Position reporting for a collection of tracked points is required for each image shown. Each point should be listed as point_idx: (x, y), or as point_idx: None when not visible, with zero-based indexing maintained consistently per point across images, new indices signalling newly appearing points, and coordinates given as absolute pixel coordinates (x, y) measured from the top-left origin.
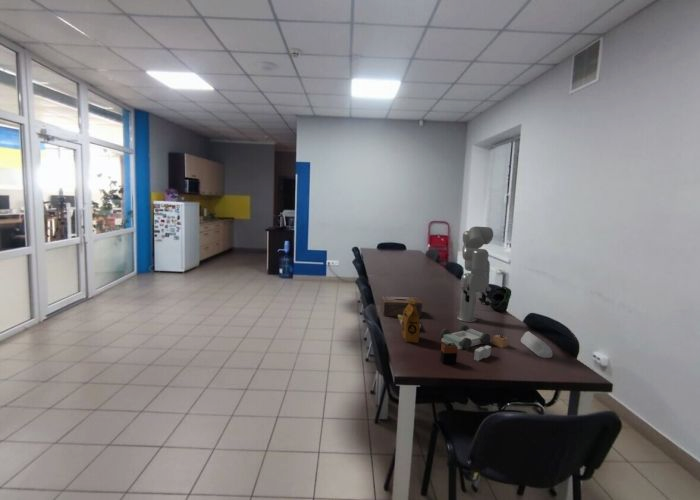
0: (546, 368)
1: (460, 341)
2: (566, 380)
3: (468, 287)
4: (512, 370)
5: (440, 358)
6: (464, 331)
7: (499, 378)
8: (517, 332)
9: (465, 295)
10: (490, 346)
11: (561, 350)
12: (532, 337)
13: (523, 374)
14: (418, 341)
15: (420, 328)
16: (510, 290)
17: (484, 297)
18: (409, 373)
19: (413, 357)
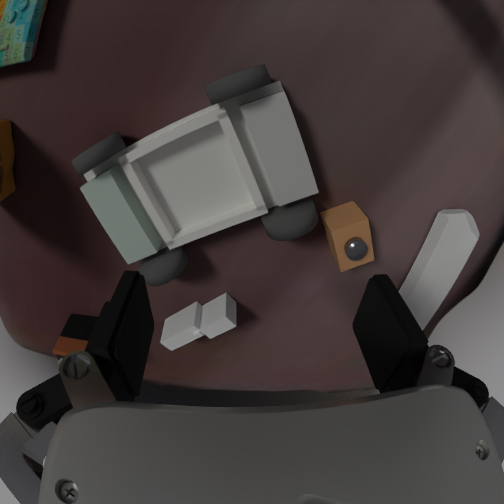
0: (339, 359)
1: (136, 260)
2: (329, 389)
3: (100, 468)
4: (244, 367)
5: (68, 319)
6: (220, 121)
7: (190, 384)
8: (493, 123)
9: (85, 349)
10: (235, 325)
11: (473, 275)
12: (446, 277)
13: (258, 378)
14: (13, 189)
15: (31, 58)
16: None
17: (372, 374)
18: (25, 342)
19: (16, 288)
